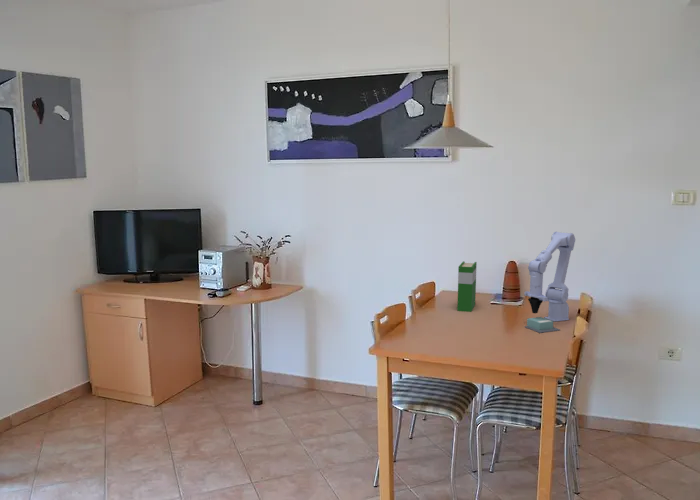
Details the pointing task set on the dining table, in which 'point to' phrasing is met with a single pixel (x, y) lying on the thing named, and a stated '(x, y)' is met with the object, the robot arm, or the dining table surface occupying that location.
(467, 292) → the hardback book
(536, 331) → the mat
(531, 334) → the dining table surface
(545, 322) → the slab
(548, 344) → the dining table surface
